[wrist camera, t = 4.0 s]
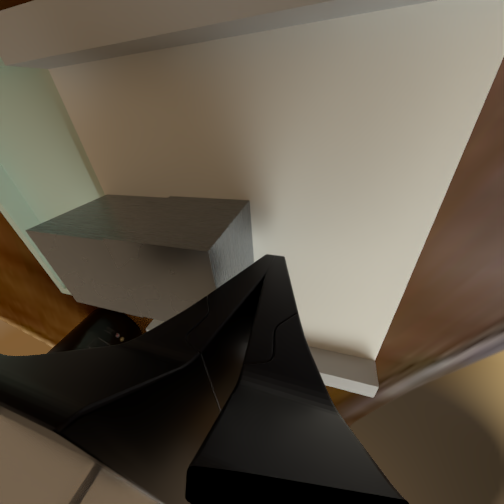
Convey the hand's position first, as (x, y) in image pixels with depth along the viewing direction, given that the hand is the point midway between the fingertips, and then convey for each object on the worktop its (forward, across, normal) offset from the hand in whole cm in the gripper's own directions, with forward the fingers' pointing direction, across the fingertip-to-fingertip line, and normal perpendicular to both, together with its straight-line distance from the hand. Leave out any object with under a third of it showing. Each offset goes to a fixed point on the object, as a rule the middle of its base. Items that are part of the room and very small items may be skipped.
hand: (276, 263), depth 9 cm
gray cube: (+2, +8, 0) cm, 8 cm away
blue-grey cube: (+2, +4, 0) cm, 4 cm away
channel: (+5, +2, 0) cm, 5 cm away
